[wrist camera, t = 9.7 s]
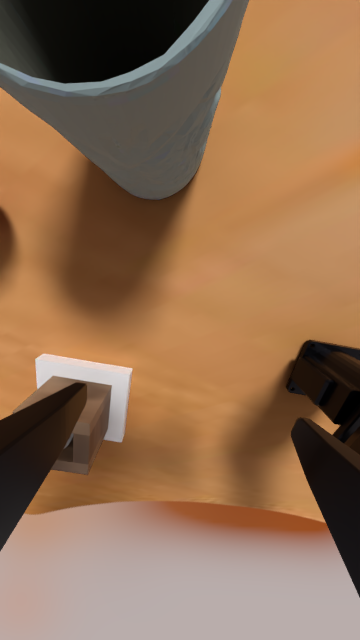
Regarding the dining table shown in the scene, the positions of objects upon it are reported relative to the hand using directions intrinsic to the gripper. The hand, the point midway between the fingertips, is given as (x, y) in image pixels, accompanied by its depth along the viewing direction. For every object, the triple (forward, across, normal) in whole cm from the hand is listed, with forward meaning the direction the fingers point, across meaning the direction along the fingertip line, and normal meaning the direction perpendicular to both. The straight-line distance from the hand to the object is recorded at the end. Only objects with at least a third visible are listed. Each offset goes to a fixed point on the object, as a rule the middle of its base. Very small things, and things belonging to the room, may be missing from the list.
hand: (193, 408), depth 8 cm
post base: (+12, +10, +12) cm, 20 cm away
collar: (+11, +10, +12) cm, 19 cm away
